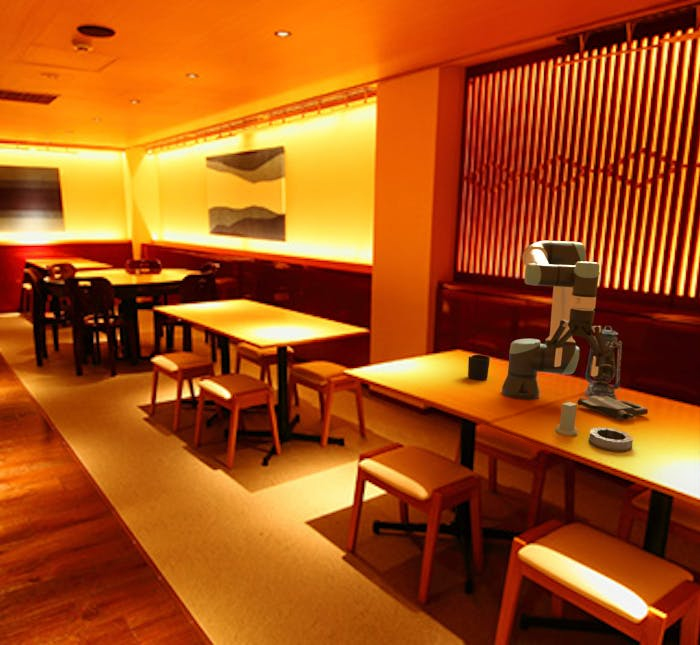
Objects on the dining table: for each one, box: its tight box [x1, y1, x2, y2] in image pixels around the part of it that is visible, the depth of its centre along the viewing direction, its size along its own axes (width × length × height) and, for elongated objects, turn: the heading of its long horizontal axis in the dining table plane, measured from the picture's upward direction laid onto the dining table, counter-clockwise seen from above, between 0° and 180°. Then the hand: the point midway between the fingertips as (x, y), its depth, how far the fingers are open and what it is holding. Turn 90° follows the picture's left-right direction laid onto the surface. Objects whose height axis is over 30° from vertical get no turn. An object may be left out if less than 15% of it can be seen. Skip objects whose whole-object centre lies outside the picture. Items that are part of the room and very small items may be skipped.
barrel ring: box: [588, 427, 634, 453], centre depth 183 cm, size 13×13×3 cm
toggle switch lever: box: [555, 401, 579, 437], centre depth 192 cm, size 7×7×10 cm
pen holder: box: [467, 354, 491, 382], centre depth 255 cm, size 9×9×10 cm
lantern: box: [584, 325, 623, 400], centre depth 234 cm, size 15×12×30 cm
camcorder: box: [576, 396, 649, 421], centre depth 215 cm, size 16×20×5 cm
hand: (575, 370), depth 189 cm, fingers open, 13 cm apart
